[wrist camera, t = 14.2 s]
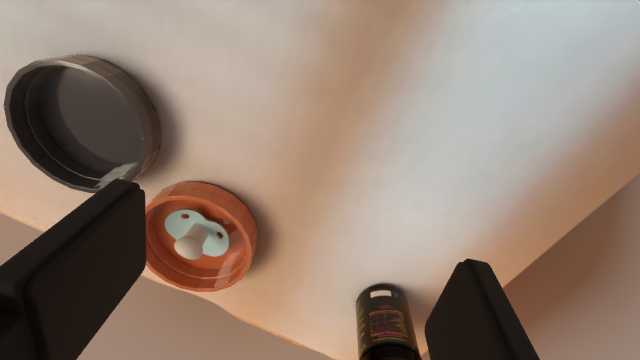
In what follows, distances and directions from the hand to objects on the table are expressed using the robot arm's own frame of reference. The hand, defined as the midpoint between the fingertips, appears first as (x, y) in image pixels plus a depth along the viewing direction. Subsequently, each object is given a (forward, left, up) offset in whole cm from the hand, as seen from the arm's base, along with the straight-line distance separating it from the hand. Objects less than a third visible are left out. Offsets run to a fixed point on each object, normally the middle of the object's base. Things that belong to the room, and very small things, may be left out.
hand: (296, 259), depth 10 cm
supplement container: (-13, +25, -26) cm, 38 cm away
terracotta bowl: (+10, +20, -25) cm, 34 cm away
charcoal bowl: (+22, +9, -25) cm, 35 cm away
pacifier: (+10, +20, -25) cm, 34 cm away
